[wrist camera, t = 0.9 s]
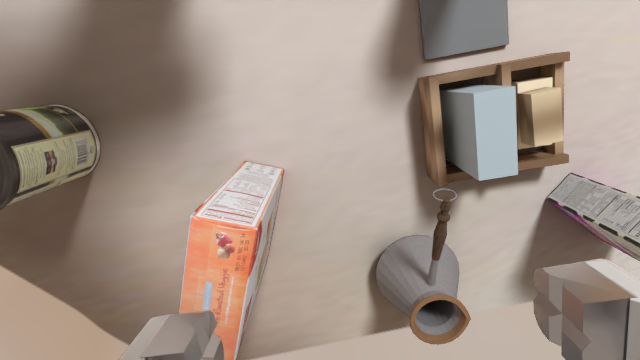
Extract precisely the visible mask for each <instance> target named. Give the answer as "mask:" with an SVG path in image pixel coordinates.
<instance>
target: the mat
mask: <svg viewBox="0 0 640 360" xmlns="http://www.w3.org/2000/svg"><path fill="white" fill-rule="evenodd" d="M419 7H420V18H421V28H422V39H423V49H424V60H428V59H433V58H438V57H444V56H449V55H454V54H460V53H465V52H470V51H476V50H481V49H486V48H492V47H497V46H502V45H508V44H509V36H508V7H507V0H419Z"/></svg>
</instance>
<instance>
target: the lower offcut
mask: <svg viewBox="0 0 640 360" xmlns="http://www.w3.org/2000/svg"><path fill="white" fill-rule="evenodd" d="M511 86H515V89H516V122H517V149H525V148H531V147H534V146H531V145H527V144H524V143H521V135H520V123H519V112H518V100H517V93H521V92H526V91H530V90H534V89H539V88H543V87H552V86H553V77H542V78H531V79H525V80H519V81H513V82H511ZM551 144H552V143H550V144H546V145H551ZM541 146H544V145H541ZM537 147H538V146H537Z"/></svg>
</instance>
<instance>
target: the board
mask: <svg viewBox="0 0 640 360" xmlns="http://www.w3.org/2000/svg"><path fill="white" fill-rule="evenodd" d="M439 92H440V104H441V115H442V127H443V139H444V150H445V159H447V160H448V161H450V162H451V163H453V164H454V165H456V166H457V167H459V168H460V169H462V170H463V171H465V172H466V173H468V174H469V175H471V176H472V177H474V178H475V179H477V180H478V181H482V180H488V179H494V178H500V177H507V176H513V175H518V155H517V122H516V89H515V86H497V85H467V86H461V87H456V88H450V89H445V90H439Z"/></svg>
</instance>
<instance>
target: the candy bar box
mask: <svg viewBox="0 0 640 360" xmlns="http://www.w3.org/2000/svg"><path fill="white" fill-rule="evenodd" d="M546 199H547V200H548V201H550V202H551V203H552V204H554V205H555V206H557V207H558V208H559V209H561V210H562V211H563V212H565V213H566V214H567V215H569V216H570V217H571V218H573V219H574V220H575V221H577V222H578V223H579V224H581V225H582V226H584V227H585V228H586V229H588V230H589V231H590V232H592V233H593V234H594V235H596V236H597V237H598V238H599V239H601V240H602V241H604V242H606V243H608V244H610V245H612V246H613V247H615V248H617V249H619V250H620V251H622V252H624V253H626V254H628V255H629V256H631V257H633V258H635V259H637V260H638V261H640V197H638V196H635V195H632V194H629V193H626V192H623V191H621V190H618V189H615V188H612V187H610V186H607V185H604V184H601V183H598V182H595V181H593V180H590V179H587V178H585V177H582V176H579V175H576V174H573V173H570V174H569V175H567V176H566V177H565V178H564V180H563V181H562V182H561V183H560V184H559V185H558V187H557V188H556V189H555V190H554V191H553V192H552V193H551V194H550V195H549V196H548V197H547V198H546Z"/></svg>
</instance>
